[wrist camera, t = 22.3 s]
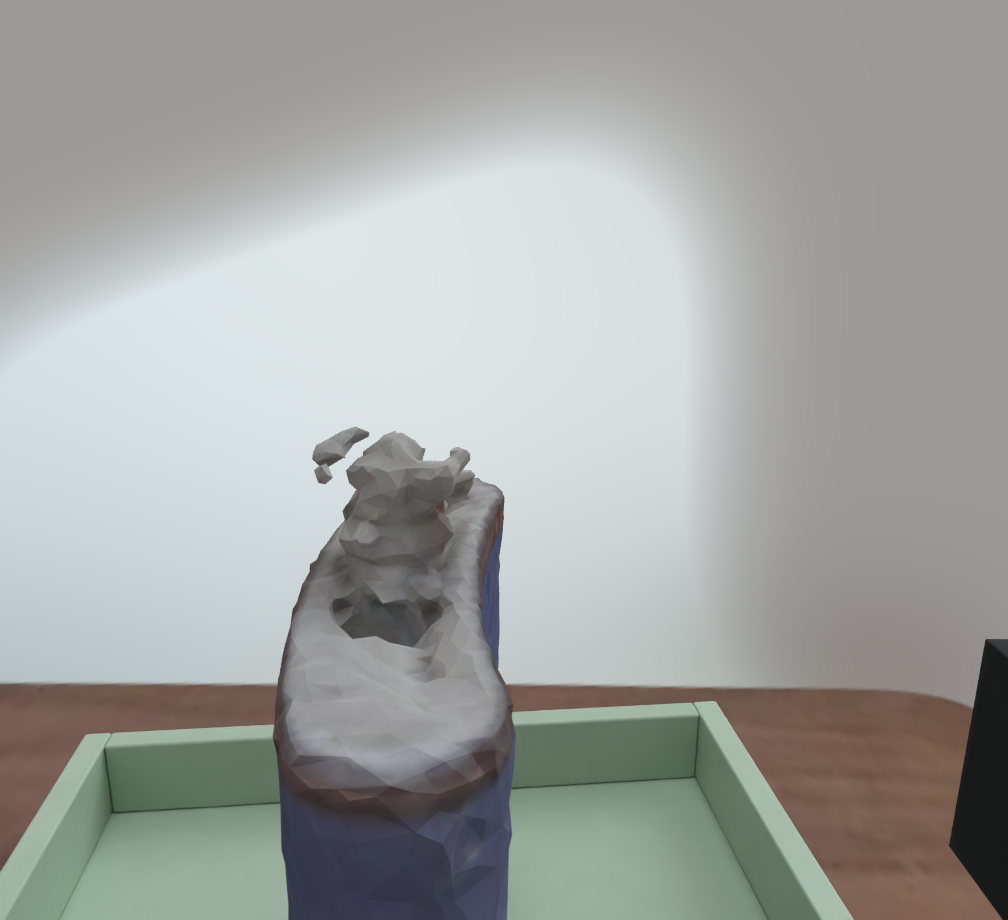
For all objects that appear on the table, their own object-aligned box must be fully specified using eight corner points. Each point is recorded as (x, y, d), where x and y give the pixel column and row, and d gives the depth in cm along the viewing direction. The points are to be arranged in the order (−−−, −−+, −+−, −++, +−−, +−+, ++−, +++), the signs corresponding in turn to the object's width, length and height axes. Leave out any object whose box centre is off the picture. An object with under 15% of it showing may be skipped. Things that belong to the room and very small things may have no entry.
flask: (512, 1456, 10) (521, 575, 7) (251, 1462, 10) (148, 576, 7) (501, 865, 19) (502, 374, 16) (364, 866, 19) (341, 374, 16)
